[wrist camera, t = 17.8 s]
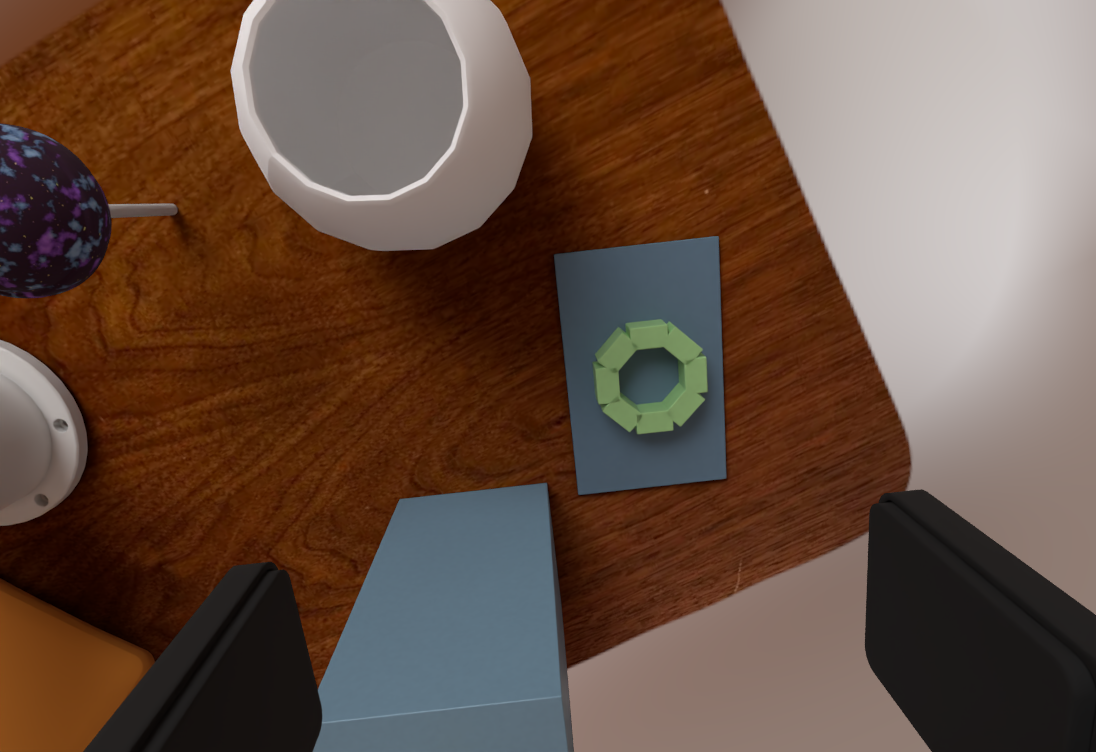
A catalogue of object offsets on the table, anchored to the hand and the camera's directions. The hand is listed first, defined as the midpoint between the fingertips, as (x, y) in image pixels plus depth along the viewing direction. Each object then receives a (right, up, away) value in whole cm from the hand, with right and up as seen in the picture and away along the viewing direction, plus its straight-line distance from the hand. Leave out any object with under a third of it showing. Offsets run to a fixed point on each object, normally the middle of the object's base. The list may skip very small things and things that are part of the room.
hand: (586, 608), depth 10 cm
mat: (+6, +4, +31) cm, 31 cm away
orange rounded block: (-36, -14, +28) cm, 48 cm away
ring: (+6, +4, +30) cm, 31 cm away
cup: (-8, +18, +26) cm, 33 cm away
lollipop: (-23, +14, +27) cm, 38 cm away
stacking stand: (-5, -9, +34) cm, 35 cm away
